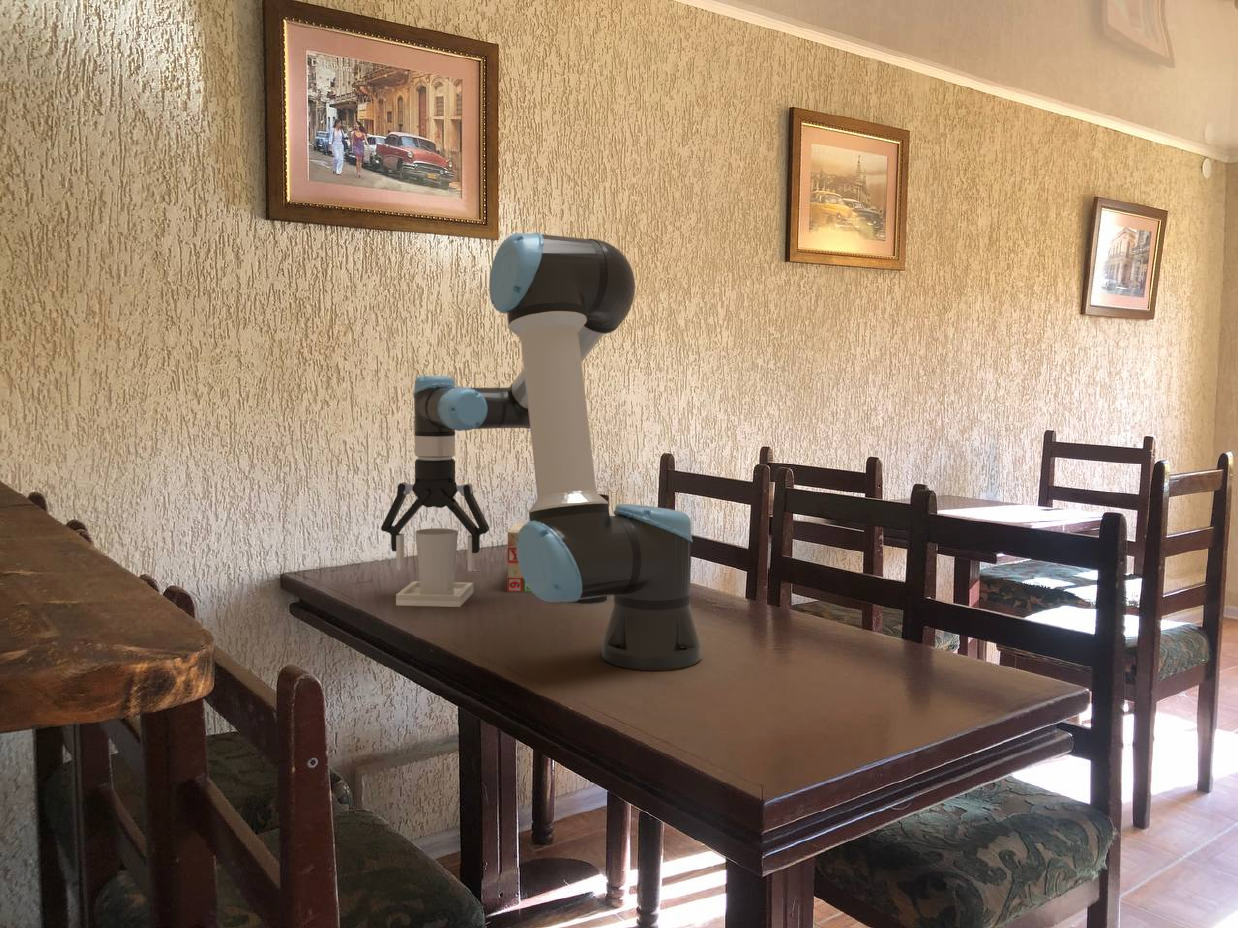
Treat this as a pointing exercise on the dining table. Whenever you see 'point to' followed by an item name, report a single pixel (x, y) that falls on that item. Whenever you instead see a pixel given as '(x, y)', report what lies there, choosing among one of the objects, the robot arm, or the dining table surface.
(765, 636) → the dining table surface
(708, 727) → the dining table surface
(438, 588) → the cup
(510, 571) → the stack of blocks
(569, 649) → the dining table surface
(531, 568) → the robot arm
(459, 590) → the cream square tray
